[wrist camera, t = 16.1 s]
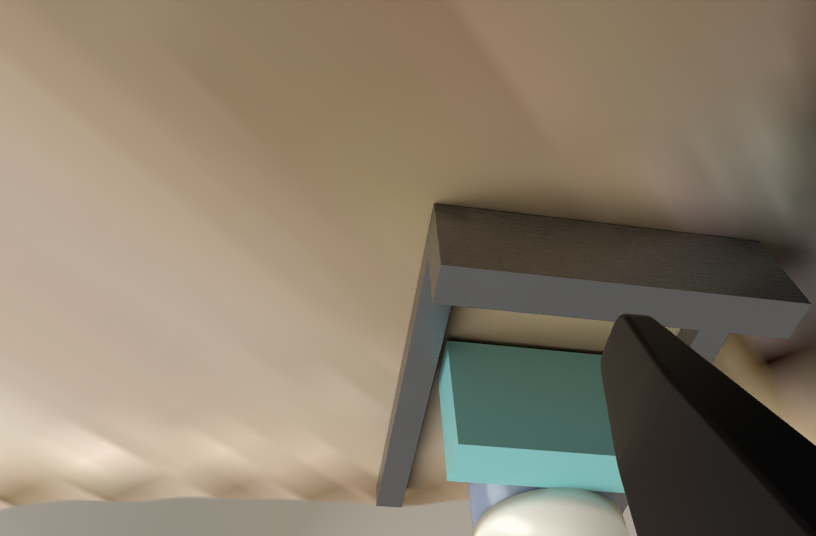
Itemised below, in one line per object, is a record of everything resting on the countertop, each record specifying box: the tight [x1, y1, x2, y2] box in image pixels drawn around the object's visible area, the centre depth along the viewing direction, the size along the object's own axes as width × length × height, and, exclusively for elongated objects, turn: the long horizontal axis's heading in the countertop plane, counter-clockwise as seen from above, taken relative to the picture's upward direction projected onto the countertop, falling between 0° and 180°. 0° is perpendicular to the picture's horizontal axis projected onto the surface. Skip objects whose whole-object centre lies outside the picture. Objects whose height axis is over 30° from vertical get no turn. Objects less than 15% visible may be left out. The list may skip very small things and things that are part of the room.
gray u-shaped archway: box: [376, 204, 811, 513], centre depth 26 cm, size 16×12×4 cm
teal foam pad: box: [438, 341, 625, 493], centre depth 25 cm, size 2×9×5 cm, turn 82°
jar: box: [467, 482, 629, 536], centre depth 26 cm, size 6×6×5 cm
